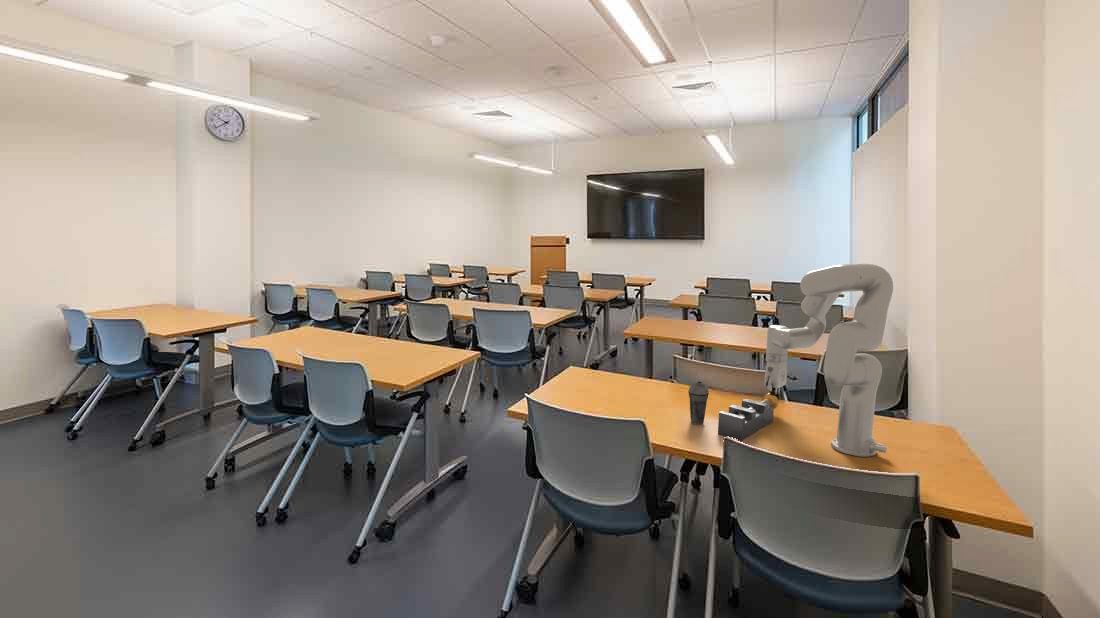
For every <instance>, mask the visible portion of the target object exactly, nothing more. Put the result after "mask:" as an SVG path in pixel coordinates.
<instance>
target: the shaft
mask: <svg viewBox="0 0 1100 618" xmlns="http://www.w3.org/2000/svg"><path fill="white" fill-rule="evenodd" d="M760 402H762V403H766V404H768V406H771V407H774V410H775V409H776V408H778V406H779V402H780V401H779V402H778V399H777V397H776V396H775V395H773V394H769V393H766V394H764V395H763V396H762V397H761V400H760ZM748 409H752V410H756V411H758V407H754V406H752V407H750V408H748ZM737 415H738V416H742V417H745V414H743V413H738V414H737Z"/></svg>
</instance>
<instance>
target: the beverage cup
mask: <svg viewBox="0 0 1100 618" xmlns="http://www.w3.org/2000/svg"><path fill="white" fill-rule="evenodd" d="M695 380H696V381H695V382H693V383H691V385H690V386H689V388H688V398H689V411H690V413H689V414H690V415H689V416H690V423H691V424H693V425H698V426H700V425H704V421H705V416H706V410H707V401H708V398H709V395H710V393H709V388H708V387H707V385H706V384H705V383H704V382H702V381H699V380H698V370H695Z"/></svg>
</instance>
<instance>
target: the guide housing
mask: <svg viewBox="0 0 1100 618" xmlns="http://www.w3.org/2000/svg"><path fill="white" fill-rule="evenodd" d="M752 406H754V407H758V411H756V410H752V409H748V408H750V407H752ZM774 411H775V409H774V407H771V406H768V404H766V403H762V402H761V401H757V400H753V399H749V398H743V399H742V400H741V406H740V405H736V404H732V405H729V407H728V412H727V411H723V410H721V411H719V412H718V423H717V424H718V425H717V435H719V436H722V437H725V436H729V437H733V438H736V439H738V440H740V441H739V442H742V441H744V440H747V438H749V437H751V436H752V435H755V433H757V432H759V431H761V430H763V429H764V428H766V427H767V426H769V425H770V424H772V423H774V413H775V412H774ZM738 413H743V414H745V417H742V416H738V415H737V414H738ZM738 440H737V441H738Z"/></svg>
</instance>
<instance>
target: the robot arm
mask: <svg viewBox="0 0 1100 618" xmlns="http://www.w3.org/2000/svg"><path fill="white" fill-rule="evenodd" d="M891 276H892V275H890V273H889V271H887V270H886V269H885V268H884V267H883V266H879V265H877V264H871V263H855V264H854V263H851V264H847V263H845V264H836V265H832V266H831V265H830V266H828V267H823V268H819V269H817V270H816V269H815V270H811V271H809V272H806V273H805V274H804V275H803V277H802V279H801V280H800V283H799V286H800V291H801V293H802V294H803V295H805V297H804V299H803V300H802V302H800V308H801V311H802V312H803V313H804V314H805V315H807V316H809V317H810V318H809V320H808V321H807V323H806V324H805V325H804V327H797V328H796V327H795V328H789V327H787V326H785V325H779V324H772V325H769V326H768V327H767V331H766V332H767V336H766V348H765V349H766V350H765V351H766V352H765V361H766V365H765V373H764V386H765V387H766V390H767V391H768V394H773V395H775V396H776V397H777V399H778V402H780V401H779V399H780V391H781V387H784V386H785V385H786V384H787V382H788V365H787V364H788V363H787V362H788V351H789V350H796V349H807V348H811V347H813V346H815V344H817V343H818V341H820V339H821V337H822V336H823V335H824V333H825V330H826V327H827V319H826V315H827V313H828V312H829V311H830V309H831V307H832V306H833V304H835V302H836V300H837V299H838V297H840V295H841V294H842V293H844V292H859V291H860V292H862V295H861V296H860V297H859V298H858V301H857V303H856V304H855V307H854V313H853V318H852V321H844V322H840V323H838V324H836V325H834V326H833V327H832V329H831V331H830V332H829V334H828V338H827V342H826V343H827V344H826V351H825V355H824V356H825V357H824V363H823V373H824V377H825V378H826V380H827V382H829V383H830V384H831V385H833V386H836V387H842V388H841V392H840V398H839V399H840V400H839V410H838V421H837V429H836V430H837V431H836V432H837V433H836V438H833V439H831V441H830V446H831V447H832V448H833V450H836V451H838V452H840V453H842V454H846V455H850V456H855V457H867V458H868V457H874V456H875V455H876V454H877V452H879V453H883V454H887V451H888V447H886V446H885V444H883V443H877V441H875V437H874V436H873V429H874V419H875V407H876V399H877V393H878V388H879V386H880V382H881V378H882V374H883V367H882V363H881V362H880V360H879V359H878V358H877V357H875V356H874V355H872V354H869V353H864V352H869V351H870V352H871V351H875V350H877V349H878V348H880V347H881V344H882V342H883V339H884V334H885V329H886V323H887V317H888V312H889V307H890V305H891V304H890V303H891V301H892V298H893V292H894V282H893V279H892V277H891ZM862 352H863V353H862Z"/></svg>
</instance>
